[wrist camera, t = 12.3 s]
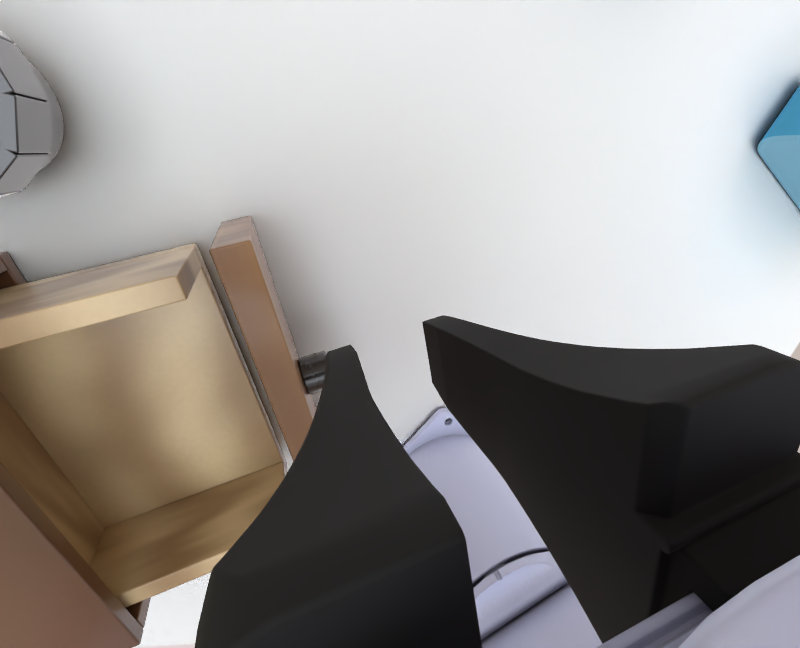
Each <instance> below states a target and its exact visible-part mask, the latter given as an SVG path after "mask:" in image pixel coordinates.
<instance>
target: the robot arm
mask: <svg viewBox="0 0 800 648" xmlns="http://www.w3.org/2000/svg"><path fill="white" fill-rule="evenodd" d="M423 328H424V334H425V340H426V346H427V352H428V359H429V365H430V371H431V377H432V383H433V384H434V386H435V388H436V390H437V391H438V393H439V395H440V397H441V398H442V400H443V401H444V403H445V405H446V406H447V408H448V410H447V409H445V408H441V409H438V410H437V411H436V412H435V413H434V414H433V415H432V416H431V417H430V418H429V420H428V421H427V422H426V423H425V424H424V425H423V426H422V427H421V428H420V429H419V430H418V431H417V433H416V434H415V435H414V436H413V437H412V438H411V439H410V440H409V441H408V442H407V443H406V444H405V446H404V447H403V446H402V445H401V444H400V442H399V441H398V439H397V438H396V436H395V435H394V433H393V432H392V430H391V429H390V427H389V425H388V424H387V422H386V421H385V419H384V418H383V416H382V414H381V412H380V411H379V409H378V407H377V406H376V404H375V402H374V401H373V399H372V396H371V394H370V392H369V389H368V386H367V383H366V379H365V376H364V373H363V370H362V367H361V364H360V361H359V358H358V355H357V352H356V351H355V350H354V348H353V347H352V346H351V345H348V346H345V347H342V348H338V349H335V350H332V351H329V352H328V353H327V354H326V356H325V359H326V368H325V376H324V382H323V387H322V391H321V396H320V399H319V402H318V406H317V409H316V412H315V415H314V418H313V421H312V423H311V426H310V429H309V431H308V433H307V436H306V438H305V440H304V442H303V444H302V446H301V449H300V450H299V452H298V454H297V456H296V458H295V460H294V462H293V463H292V465H291V467H290V469H289V471H288V472H287V474H286V476H285V477H284V479H283V481H282V482H281V484H280V485H279V487H278V488H277V490H276V491H275V492H274V494H273V495H272V497H271V498H270V500H269V501H268V503H267V504H266V505H265V507H264V508H263V510H262V511H261V512H260V513H259V515H258V516H257V517H256V519H255V520H254V521H253V522H252V524H251V525H250V526H249V527H248V528H247V529H246V531H245V532H244V533H243V534H242V535H241V536H240V538H239V539H238V540H237V541H236V542H235V543H234V545H233V546H232V547H231V548H230V549H229V550H228V552H227V553H226V554H225V555H224V556H223V557H222V558H221V560H220V561H219V562H218V563H217V564H216V565H215V566H214V567H213V569H212V572H211V576H210V579H209V583H208V587H207V591H206V595H205V599H204V604H203V608H202V612H201V617H200V621H199V625H198V630H197V636H196V643H195V648H800V453H798V452H797V451H798V448H799V445H800V361H799V360H796V359H794V358H791V357H789V356H786V355H783V354H781V353H778V352H776V351H773V350H770V349H768V348H765V347H762V346H758V345H753V344H752V345H737V346H721V347H706V348H691V349H623V348H607V347H592V346H582V345H574V344H566V343H559V342H552V341H546V340H540V339H536V338H531V337H526V336H521V335H517V334H513V333H509V332H505V331H501V330H497V329H493V328H490V327H486V326H482V325H479V324H475V323H472V322H468V321H465V320H461V319H457V318H453V317H449V316H439V317H436V318H433V319H430V320H427V321H424V322H423ZM448 418H449V420H448V421H446V420H447V419H448ZM445 421H446V422H445Z"/></svg>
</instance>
